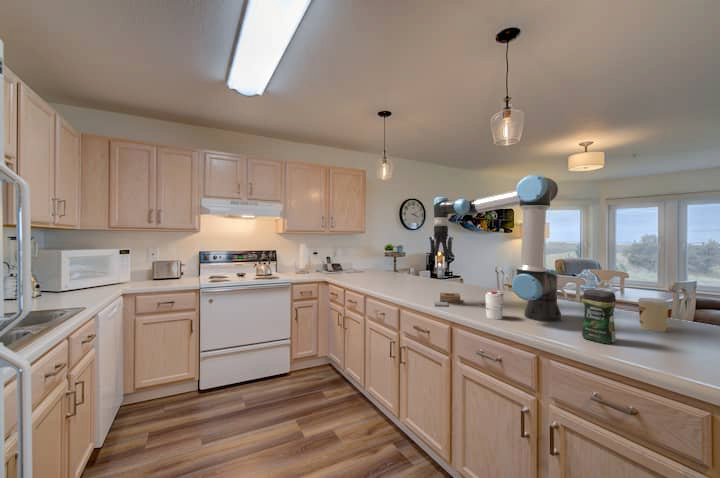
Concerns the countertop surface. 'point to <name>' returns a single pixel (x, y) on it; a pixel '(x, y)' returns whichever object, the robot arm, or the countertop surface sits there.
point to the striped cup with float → (494, 304)
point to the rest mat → (441, 304)
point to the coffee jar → (599, 316)
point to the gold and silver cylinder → (440, 264)
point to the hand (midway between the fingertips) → (441, 267)
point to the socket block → (450, 298)
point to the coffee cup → (653, 314)
